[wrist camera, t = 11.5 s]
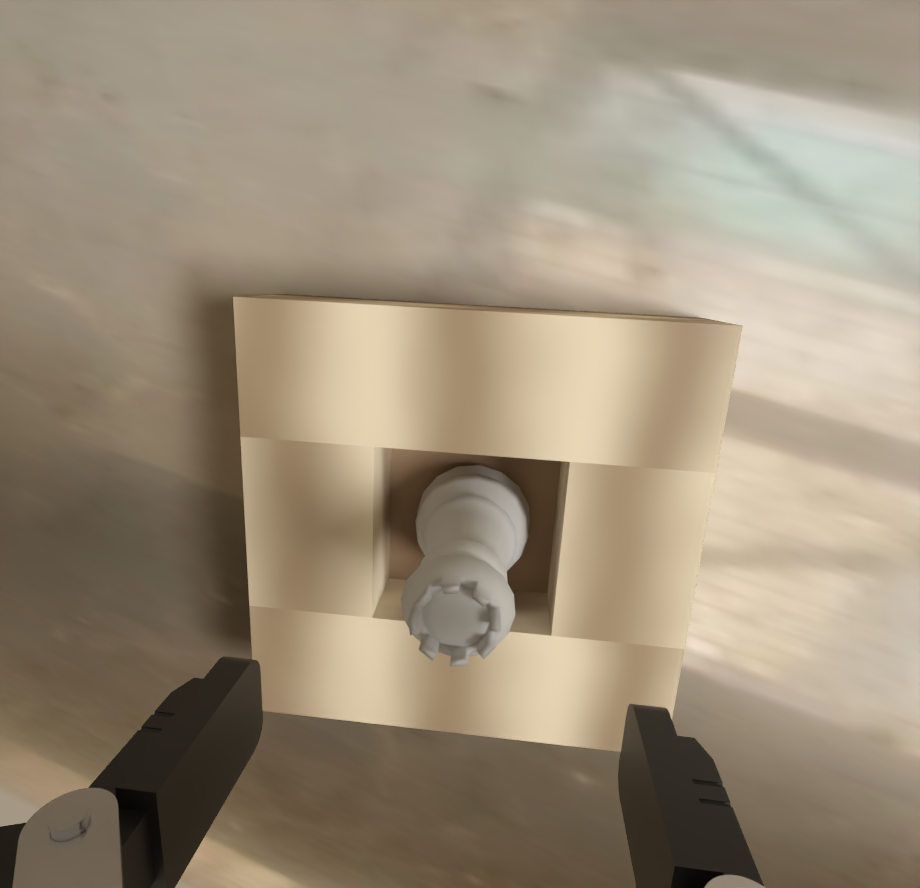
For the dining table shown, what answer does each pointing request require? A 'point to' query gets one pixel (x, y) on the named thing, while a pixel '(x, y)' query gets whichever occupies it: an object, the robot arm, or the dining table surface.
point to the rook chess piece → (465, 563)
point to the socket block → (493, 446)
